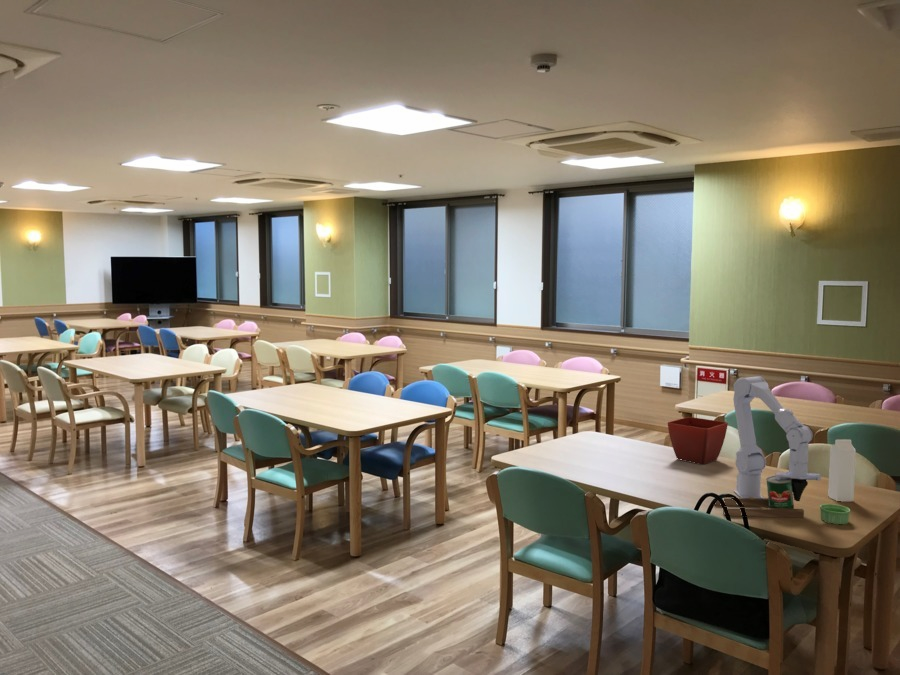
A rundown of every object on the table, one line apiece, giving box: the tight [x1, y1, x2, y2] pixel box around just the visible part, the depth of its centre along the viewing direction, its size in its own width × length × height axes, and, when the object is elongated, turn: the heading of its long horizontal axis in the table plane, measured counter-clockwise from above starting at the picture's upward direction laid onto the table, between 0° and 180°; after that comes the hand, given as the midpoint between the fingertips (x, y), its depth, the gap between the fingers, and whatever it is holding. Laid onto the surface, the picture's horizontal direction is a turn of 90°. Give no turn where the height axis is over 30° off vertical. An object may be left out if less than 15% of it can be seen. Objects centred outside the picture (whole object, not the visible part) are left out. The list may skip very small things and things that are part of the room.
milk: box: [827, 438, 857, 502], centre depth 261 cm, size 6×6×22 cm
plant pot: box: [667, 416, 729, 465], centre depth 316 cm, size 19×19×17 cm
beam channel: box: [714, 497, 805, 518], centre depth 249 cm, size 13×26×3 cm, turn 86°
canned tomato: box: [765, 475, 795, 509], centre depth 247 cm, size 8×8×11 cm
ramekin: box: [819, 503, 851, 525], centre depth 239 cm, size 9×9×4 cm
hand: (796, 500), depth 247 cm, fingers closed
